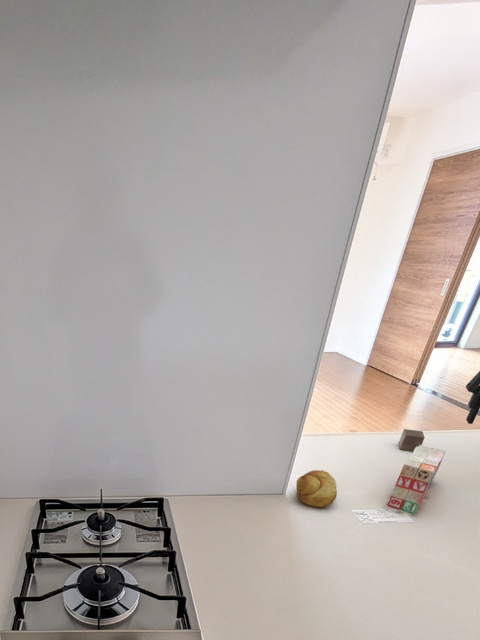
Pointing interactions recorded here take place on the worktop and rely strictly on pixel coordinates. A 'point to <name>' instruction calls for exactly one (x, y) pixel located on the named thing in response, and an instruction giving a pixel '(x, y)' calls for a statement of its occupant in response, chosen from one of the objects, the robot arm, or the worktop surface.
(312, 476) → the bread roll
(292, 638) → the worktop surface
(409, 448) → the walnut block
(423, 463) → the stack of blocks
